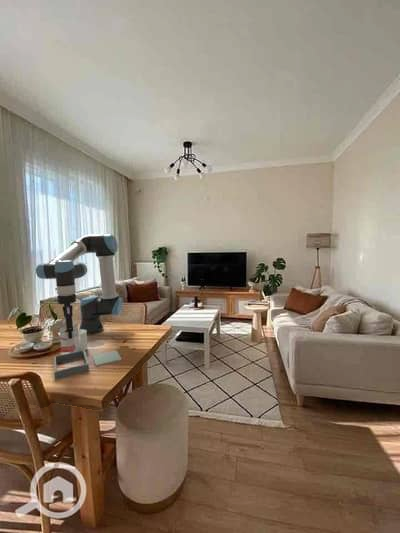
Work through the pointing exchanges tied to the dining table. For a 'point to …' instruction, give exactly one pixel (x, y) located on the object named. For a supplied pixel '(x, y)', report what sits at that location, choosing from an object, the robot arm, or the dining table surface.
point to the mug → (81, 341)
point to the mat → (106, 358)
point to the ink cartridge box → (64, 336)
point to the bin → (72, 370)
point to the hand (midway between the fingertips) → (70, 341)
